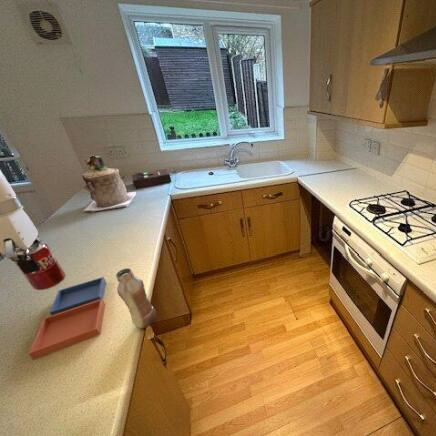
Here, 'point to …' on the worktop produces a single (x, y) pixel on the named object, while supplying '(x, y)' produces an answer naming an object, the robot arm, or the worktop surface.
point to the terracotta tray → (68, 328)
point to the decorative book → (151, 179)
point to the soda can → (43, 268)
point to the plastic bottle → (135, 298)
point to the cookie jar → (105, 186)
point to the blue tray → (78, 295)
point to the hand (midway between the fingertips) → (37, 263)
